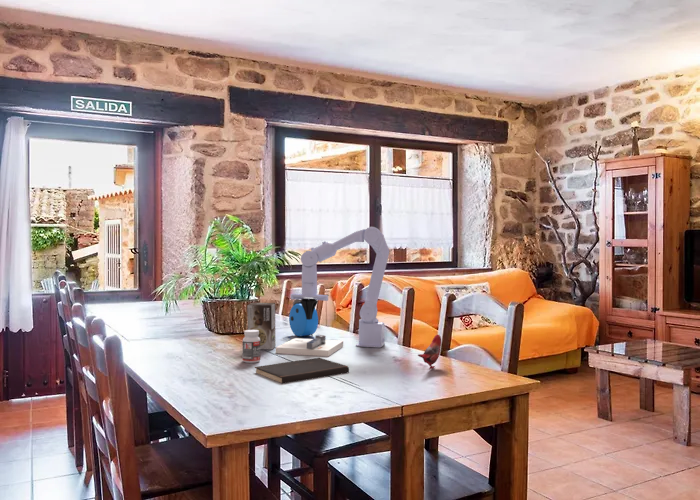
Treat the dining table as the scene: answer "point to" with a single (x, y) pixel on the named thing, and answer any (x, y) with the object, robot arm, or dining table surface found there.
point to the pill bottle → (251, 346)
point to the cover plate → (300, 348)
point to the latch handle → (316, 341)
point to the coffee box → (263, 323)
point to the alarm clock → (302, 320)
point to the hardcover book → (301, 370)
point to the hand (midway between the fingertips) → (309, 319)
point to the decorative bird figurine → (432, 352)
